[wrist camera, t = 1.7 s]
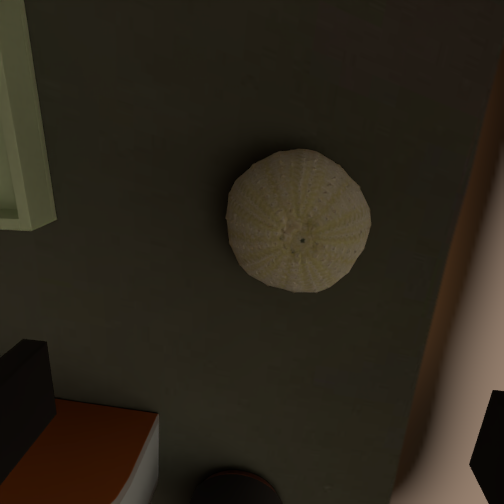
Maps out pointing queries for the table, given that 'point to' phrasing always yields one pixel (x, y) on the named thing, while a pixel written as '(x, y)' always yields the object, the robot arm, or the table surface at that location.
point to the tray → (21, 129)
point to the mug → (234, 489)
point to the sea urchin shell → (297, 221)
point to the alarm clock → (88, 458)
